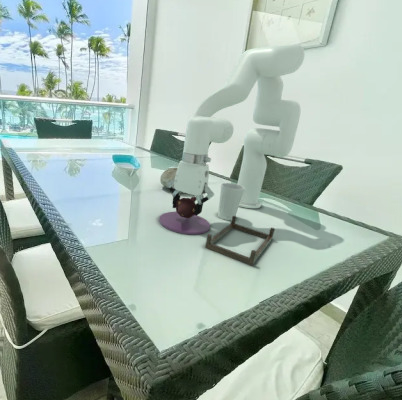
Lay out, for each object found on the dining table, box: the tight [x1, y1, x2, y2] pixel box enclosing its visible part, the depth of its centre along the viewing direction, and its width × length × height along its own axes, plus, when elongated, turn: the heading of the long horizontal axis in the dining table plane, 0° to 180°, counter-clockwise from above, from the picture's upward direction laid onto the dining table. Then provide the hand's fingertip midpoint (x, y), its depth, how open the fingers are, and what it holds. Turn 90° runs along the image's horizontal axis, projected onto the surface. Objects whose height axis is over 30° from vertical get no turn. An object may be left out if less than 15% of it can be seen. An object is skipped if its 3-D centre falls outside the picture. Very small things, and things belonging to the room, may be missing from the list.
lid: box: [158, 211, 211, 236], centre depth 93 cm, size 17×17×1 cm
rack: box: [205, 215, 276, 267], centre depth 81 cm, size 21×13×4 cm, turn 140°
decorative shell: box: [159, 166, 178, 189], centre depth 129 cm, size 18×18×10 cm
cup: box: [217, 182, 245, 221], centre depth 100 cm, size 8×8×12 cm
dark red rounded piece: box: [175, 196, 197, 218], centre depth 91 cm, size 7×7×15 cm
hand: (186, 210), depth 91 cm, fingers closed on dark red rounded piece, 7 cm apart
